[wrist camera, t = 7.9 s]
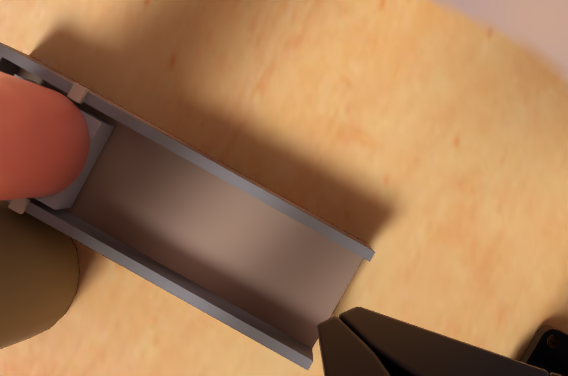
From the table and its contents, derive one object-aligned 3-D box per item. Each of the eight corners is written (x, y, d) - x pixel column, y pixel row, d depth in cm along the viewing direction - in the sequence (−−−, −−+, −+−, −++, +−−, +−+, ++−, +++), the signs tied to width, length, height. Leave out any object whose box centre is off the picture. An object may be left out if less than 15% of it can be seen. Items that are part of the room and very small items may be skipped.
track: (366, 241, 19) (377, 250, 16) (305, 349, 19) (306, 374, 17) (29, 52, 19) (-10, 35, 17) (-29, 162, 19) (-76, 160, 17)
